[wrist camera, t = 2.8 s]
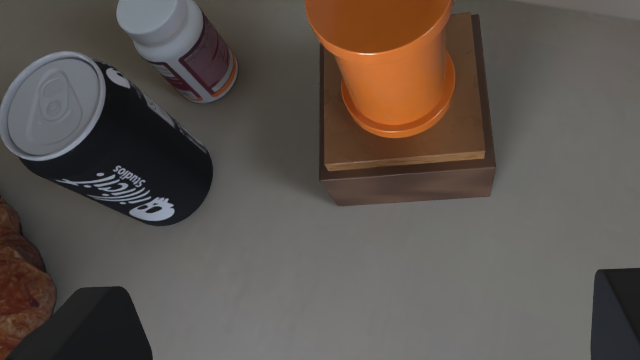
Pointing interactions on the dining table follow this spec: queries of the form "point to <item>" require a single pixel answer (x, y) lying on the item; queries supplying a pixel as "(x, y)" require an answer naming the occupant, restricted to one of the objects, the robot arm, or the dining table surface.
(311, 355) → the dining table surface
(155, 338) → the dining table surface
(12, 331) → the pastry
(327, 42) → the spool
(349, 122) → the wooden box
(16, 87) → the beverage can
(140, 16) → the pill bottle
